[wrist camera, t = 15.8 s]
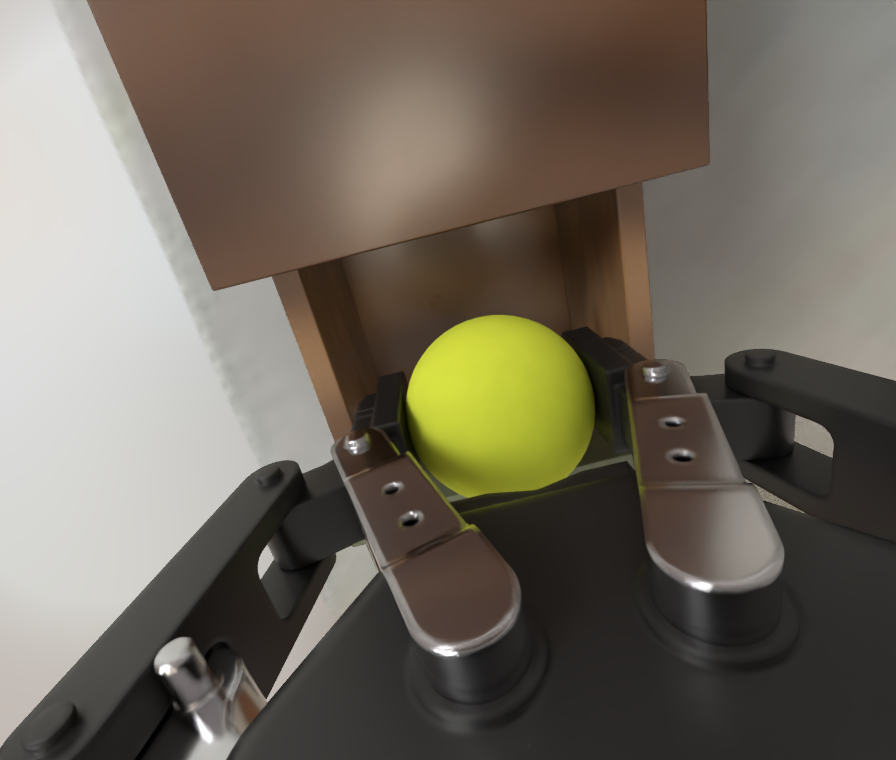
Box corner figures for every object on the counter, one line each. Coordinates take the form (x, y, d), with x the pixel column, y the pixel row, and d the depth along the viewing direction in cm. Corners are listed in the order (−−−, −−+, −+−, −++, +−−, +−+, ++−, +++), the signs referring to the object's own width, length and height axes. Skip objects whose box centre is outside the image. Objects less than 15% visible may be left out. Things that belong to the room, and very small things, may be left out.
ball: (594, 362, 15) (673, 438, 10) (492, 468, 16) (522, 578, 12) (478, 262, 14) (509, 297, 9) (375, 387, 15) (357, 474, 10)
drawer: (613, 472, 27) (692, 586, 19) (401, 522, 27) (395, 653, 19) (563, 63, 19) (660, -24, 11) (270, 140, 20) (174, 107, 12)
